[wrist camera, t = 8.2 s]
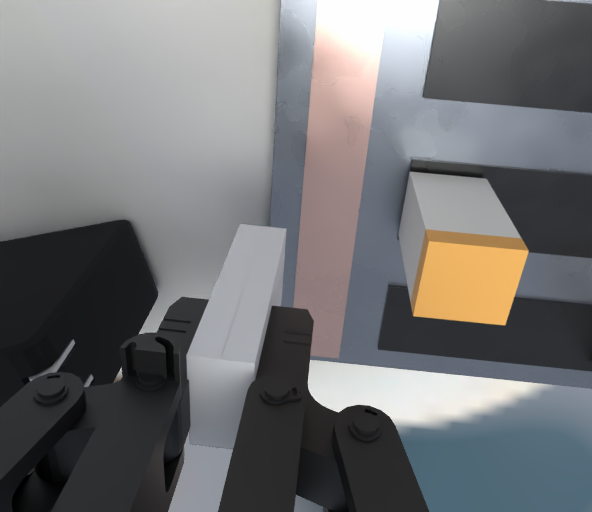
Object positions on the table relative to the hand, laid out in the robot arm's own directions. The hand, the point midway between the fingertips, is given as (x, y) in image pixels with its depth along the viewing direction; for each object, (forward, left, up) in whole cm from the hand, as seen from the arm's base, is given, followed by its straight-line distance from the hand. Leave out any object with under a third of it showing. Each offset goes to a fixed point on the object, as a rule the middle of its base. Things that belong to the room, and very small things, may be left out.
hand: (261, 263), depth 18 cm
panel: (+12, 0, -8) cm, 14 cm away
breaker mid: (+7, 0, -5) cm, 9 cm away
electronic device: (-11, -6, -8) cm, 15 cm away
